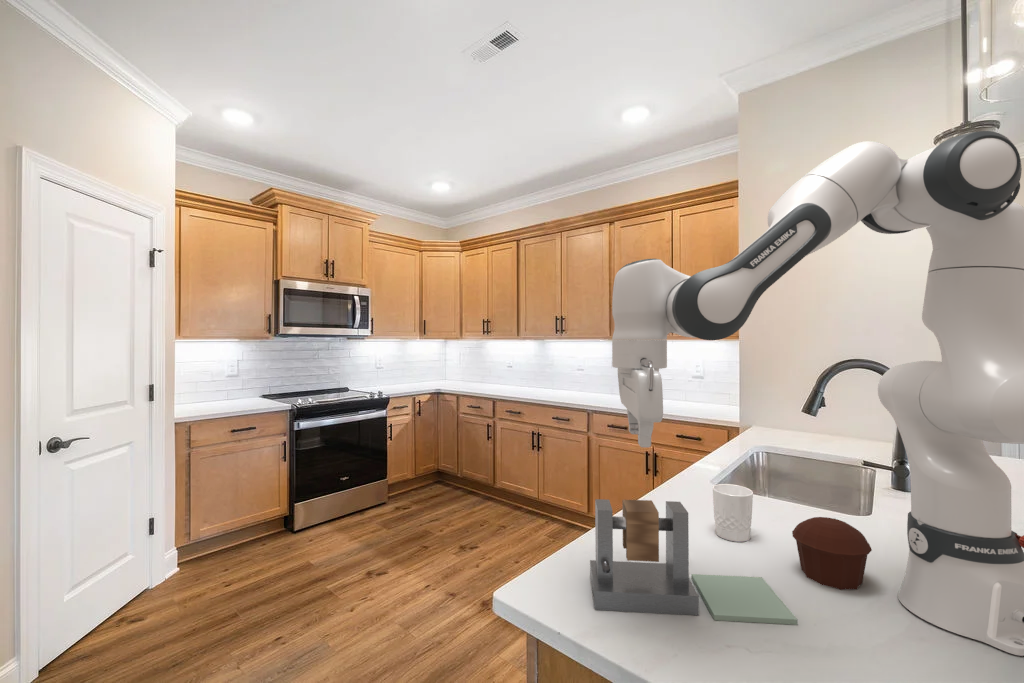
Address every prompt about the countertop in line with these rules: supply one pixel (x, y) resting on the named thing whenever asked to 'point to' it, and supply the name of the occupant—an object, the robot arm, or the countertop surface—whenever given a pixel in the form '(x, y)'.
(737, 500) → the white cup
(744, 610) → the mat
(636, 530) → the wooden block
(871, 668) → the countertop surface
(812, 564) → the muffin
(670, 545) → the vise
